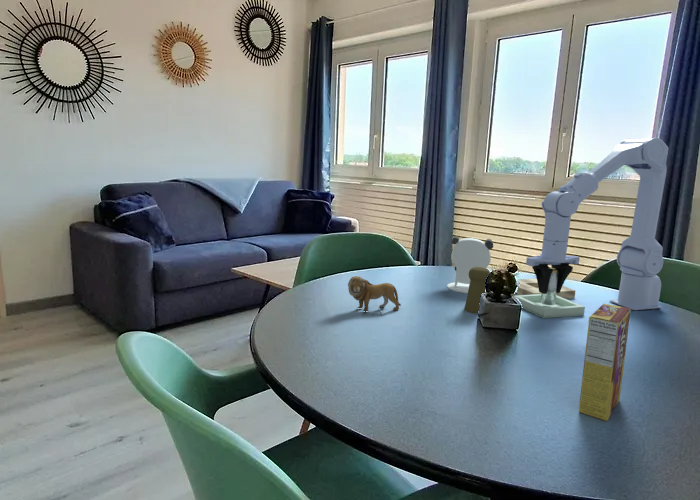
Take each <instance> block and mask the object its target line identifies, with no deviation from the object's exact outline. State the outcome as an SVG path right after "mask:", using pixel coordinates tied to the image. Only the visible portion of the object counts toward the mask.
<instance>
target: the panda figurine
mask: <svg viewBox="0 0 700 500" xmlns="http://www.w3.org/2000/svg"><path fill="white" fill-rule="evenodd" d="M451 244H452V245H453V248H452V251H451V256H450V257H451V263H452V264H453V266H454V271H455V280H454V282H449V283H448V284H447V285H446V287H447V289H448V290H450V291H452V292H456V293H461V294H462V293H463V294H468V289H469V285H470V278H469V271H470V269H471V268H473V267H483V268H486V269H488V266H489V265H490V263H491V260H492V259H491V258H492V257H491V252H490V250H492V249H493V248H494V242H493V240H492V239H491V238H487V239H485V241H482V240H481V239H478V238H475V237H466V238H461V239H460V237H459V236H458V235H454V236H453V237H452V239H451Z"/></svg>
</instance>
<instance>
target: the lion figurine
mask: <svg viewBox="0 0 700 500" xmlns="http://www.w3.org/2000/svg"><path fill="white" fill-rule="evenodd" d="M347 286H348V293H349V295H350V296H352V297H353V299H355V300H356V301H358V304H359V306H358V307H357V308H362V312H363V311H365V312H366V311H368V312H369V303H370V301H371V300H377V299H380V298H382V297H383V304H380V305H379V307H380V308H381V307H384V308H385V307H386V306H387V305H388V304H389V301H390V302H391V303H393V304H394V305H395V307H393V309H392V310H393V311H395V310H396V312H397V311H399V309H400V308H399V307H401V306H402V303H400V302H399V294H398V290H397V288H396V287H395V286H394V285H393V284H392V283H388V282H383V283H380V284H379V283H378V284H373V283H370V281H368V280H367V279H365V278H363V277H361V276H358V275H357V276H351V278H350V279H349V281H348V283H347ZM363 307H364V308H363Z"/></svg>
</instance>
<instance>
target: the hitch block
mask: <svg viewBox="0 0 700 500" xmlns="http://www.w3.org/2000/svg"><path fill="white" fill-rule="evenodd" d="M518 279H519V278H518ZM519 282H520V286H519V287H518V290H517V294H516V295H532V294H541V292H539V288H538V282H537V278H536V277H535V278H522V279H521V278H520V279H519ZM556 295H557V296H559V297H562V298H564V299H567V300H569V299H575V297H576V290H575V289H572V288H569V287H566V286H564V285H563V286H562V288H561V291H560V293H556Z"/></svg>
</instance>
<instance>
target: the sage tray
mask: <svg viewBox="0 0 700 500" xmlns="http://www.w3.org/2000/svg"><path fill="white" fill-rule="evenodd" d="M515 296H516V297H517V298H518V299H519V301H520V302H521V304H522V307H523V308H522V309H524V310H526V311H527V312H529V313H531V314H534V315H536V316H538V317H540V318H542V319H551V318H552V319H553V318H554V319H555V318H564V317H565V318H566V317H576V316H577V317H579V316H584V315H585V311H586V310H585V309H586V306H584V305H581V304H580V303H576V302H575V301H572V300H569V299H564V298H562V297H559V296H557V295H556V300H555V305H545V304H542V303H540V301H541V294H532V295H518V294H516V295H515Z"/></svg>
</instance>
